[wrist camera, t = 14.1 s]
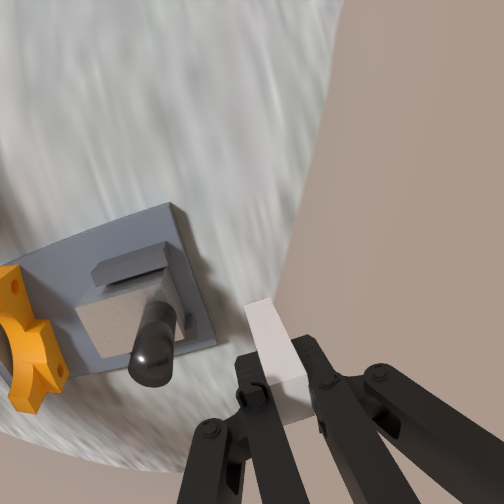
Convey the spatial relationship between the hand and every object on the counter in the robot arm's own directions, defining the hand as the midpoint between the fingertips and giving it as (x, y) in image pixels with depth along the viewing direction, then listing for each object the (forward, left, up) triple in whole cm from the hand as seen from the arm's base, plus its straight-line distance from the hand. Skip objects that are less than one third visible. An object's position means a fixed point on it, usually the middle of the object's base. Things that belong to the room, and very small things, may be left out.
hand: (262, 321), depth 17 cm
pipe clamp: (-21, +1, -9) cm, 22 cm away
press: (-15, 0, -10) cm, 18 cm away
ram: (-9, 0, -8) cm, 12 cm away
